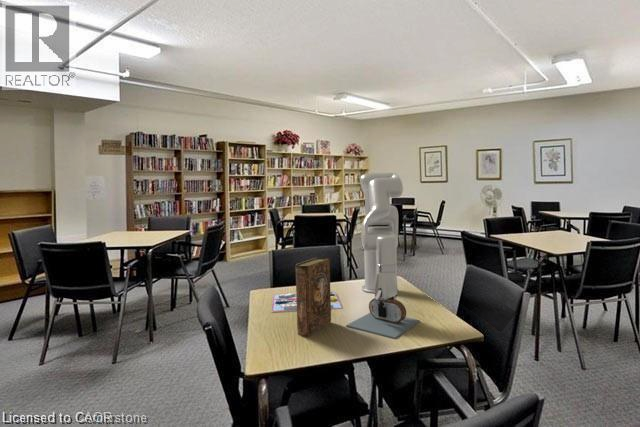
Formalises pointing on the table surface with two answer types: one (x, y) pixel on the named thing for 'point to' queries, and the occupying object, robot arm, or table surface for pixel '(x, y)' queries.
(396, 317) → the tin
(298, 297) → the book
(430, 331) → the table surface
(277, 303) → the puzzle board
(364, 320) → the mat
